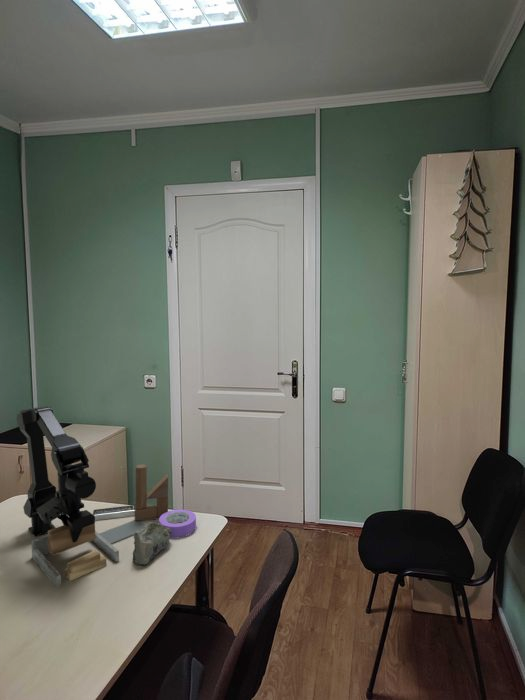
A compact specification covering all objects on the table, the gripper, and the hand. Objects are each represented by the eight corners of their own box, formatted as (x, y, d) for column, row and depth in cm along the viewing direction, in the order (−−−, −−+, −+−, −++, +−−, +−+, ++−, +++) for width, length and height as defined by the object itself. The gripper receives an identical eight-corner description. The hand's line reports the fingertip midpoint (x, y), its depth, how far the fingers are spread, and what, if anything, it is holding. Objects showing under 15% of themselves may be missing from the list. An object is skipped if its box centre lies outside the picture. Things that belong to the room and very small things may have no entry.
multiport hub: (93, 515, 154) (93, 509, 153) (137, 510, 157) (137, 504, 157) (92, 522, 149) (91, 515, 149) (137, 516, 153) (136, 510, 153)
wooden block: (167, 518, 151) (168, 466, 149) (134, 521, 148) (134, 468, 146) (167, 513, 154) (167, 462, 153) (134, 516, 151) (135, 464, 150)
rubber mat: (97, 535, 140) (97, 534, 140) (137, 519, 150) (137, 518, 150) (108, 545, 134) (108, 544, 134) (150, 528, 144) (150, 527, 144)
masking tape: (193, 517, 152) (193, 507, 151) (198, 535, 140) (198, 523, 140) (158, 522, 148) (158, 511, 148) (160, 540, 137) (159, 529, 137)
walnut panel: (48, 551, 125) (47, 530, 124) (91, 535, 133) (90, 515, 132) (52, 555, 123) (51, 534, 122) (95, 538, 131) (94, 519, 130)
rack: (32, 557, 128) (31, 541, 128) (90, 535, 140) (89, 520, 139) (57, 587, 115) (55, 569, 114) (119, 560, 127) (118, 543, 126)
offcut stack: (65, 575, 120) (64, 562, 119) (101, 560, 127) (100, 547, 126) (70, 581, 117) (69, 567, 117) (107, 565, 124) (106, 552, 124)
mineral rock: (169, 538, 138) (168, 507, 137) (181, 555, 129) (180, 522, 128) (127, 551, 132) (125, 518, 130) (136, 569, 122) (135, 535, 121)
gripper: (27, 486, 127) (31, 537, 129) (51, 507, 114) (55, 565, 116) (67, 475, 135) (70, 524, 136) (94, 494, 121) (97, 548, 123)
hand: (72, 539), depth 128 cm, fingers closed on walnut panel, 3 cm apart
